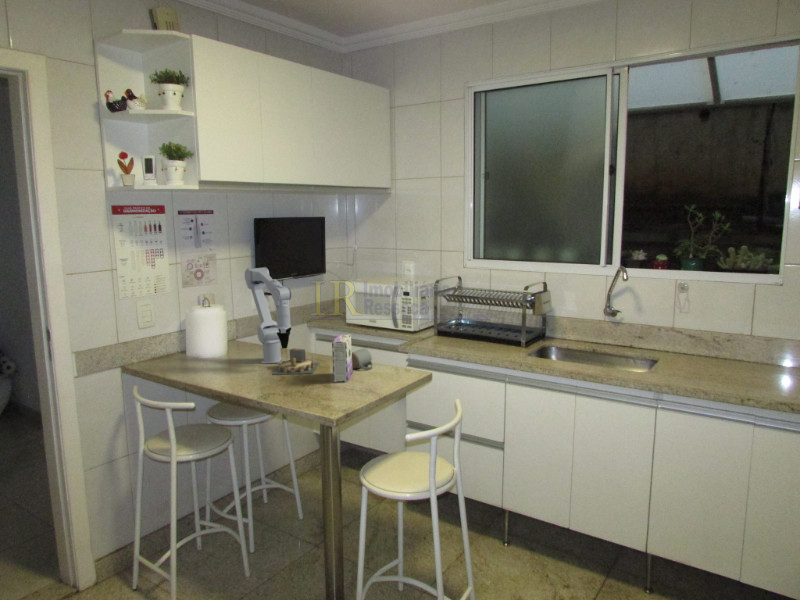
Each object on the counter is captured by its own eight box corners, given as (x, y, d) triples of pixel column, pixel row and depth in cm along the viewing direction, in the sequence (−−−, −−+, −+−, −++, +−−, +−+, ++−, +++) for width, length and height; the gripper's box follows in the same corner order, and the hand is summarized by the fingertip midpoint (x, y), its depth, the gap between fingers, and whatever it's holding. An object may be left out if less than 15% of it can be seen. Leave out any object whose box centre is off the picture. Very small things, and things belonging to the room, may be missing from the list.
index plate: (281, 364, 245) (281, 363, 245) (319, 363, 245) (319, 362, 245) (272, 374, 229) (272, 373, 229) (312, 373, 228) (312, 372, 228)
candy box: (339, 372, 229) (337, 334, 226) (353, 372, 228) (351, 334, 226) (333, 382, 215) (331, 341, 213) (348, 382, 215) (346, 341, 212)
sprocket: (271, 370, 234) (270, 357, 233) (294, 361, 247) (294, 349, 246) (298, 374, 227) (297, 361, 226) (321, 365, 239) (320, 353, 239)
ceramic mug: (346, 368, 236) (345, 350, 235) (360, 364, 242) (359, 347, 241) (363, 372, 229) (363, 354, 228) (377, 368, 235) (377, 350, 234)
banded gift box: (294, 359, 243) (293, 348, 242) (305, 360, 240) (305, 349, 239) (290, 361, 240) (289, 349, 239) (301, 362, 237) (300, 350, 237)
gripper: (275, 313, 243) (276, 343, 245) (272, 318, 229) (274, 350, 231) (291, 312, 244) (292, 342, 246) (289, 317, 230) (291, 349, 232)
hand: (285, 346), depth 239 cm, fingers open, 7 cm apart
